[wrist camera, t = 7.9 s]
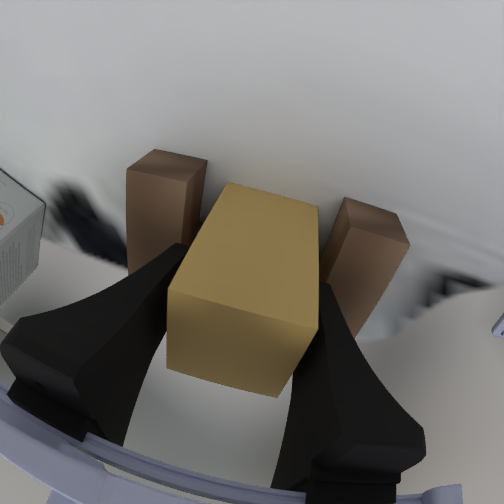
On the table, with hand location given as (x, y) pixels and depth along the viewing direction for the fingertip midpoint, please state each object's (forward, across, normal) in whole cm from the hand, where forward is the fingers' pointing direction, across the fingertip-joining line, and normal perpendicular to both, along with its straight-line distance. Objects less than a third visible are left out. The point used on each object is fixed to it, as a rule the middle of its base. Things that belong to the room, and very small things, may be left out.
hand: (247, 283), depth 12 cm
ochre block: (+4, 0, 0) cm, 4 cm away
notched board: (+3, 0, 0) cm, 3 cm away
